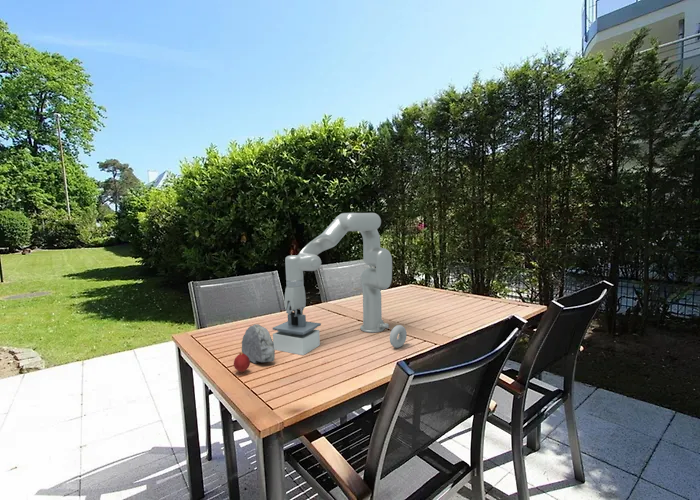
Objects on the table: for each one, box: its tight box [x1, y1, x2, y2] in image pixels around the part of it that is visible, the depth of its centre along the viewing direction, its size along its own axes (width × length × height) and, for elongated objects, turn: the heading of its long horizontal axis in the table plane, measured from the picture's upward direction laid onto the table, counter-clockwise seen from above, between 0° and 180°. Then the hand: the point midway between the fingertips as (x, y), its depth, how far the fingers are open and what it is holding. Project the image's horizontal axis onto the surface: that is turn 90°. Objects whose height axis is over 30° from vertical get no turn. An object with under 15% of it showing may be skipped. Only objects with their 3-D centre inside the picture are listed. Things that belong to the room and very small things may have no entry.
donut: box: [389, 324, 408, 349], centre depth 152 cm, size 10×4×10 cm, turn 133°
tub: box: [272, 329, 321, 356], centre depth 155 cm, size 16×13×7 cm
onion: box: [233, 351, 251, 374], centre depth 130 cm, size 6×6×8 cm
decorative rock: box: [241, 323, 276, 364], centre depth 140 cm, size 16×7×15 cm, turn 49°
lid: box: [272, 313, 322, 335], centre depth 155 cm, size 17×14×7 cm
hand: (296, 323), depth 155 cm, fingers closed on lid, 2 cm apart
